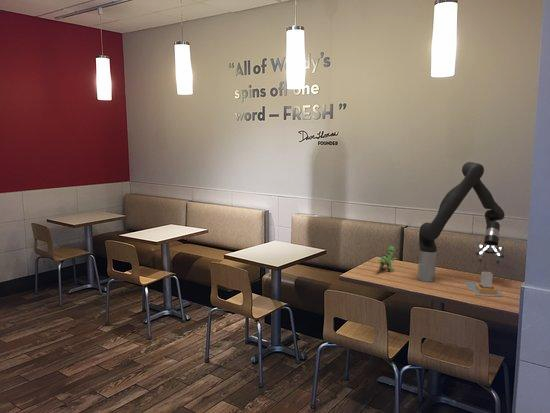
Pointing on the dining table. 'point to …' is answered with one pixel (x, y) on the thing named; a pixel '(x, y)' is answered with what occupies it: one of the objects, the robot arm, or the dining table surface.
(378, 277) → the dining table surface
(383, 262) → the toy
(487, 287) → the brushed metal pillar
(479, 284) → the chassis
